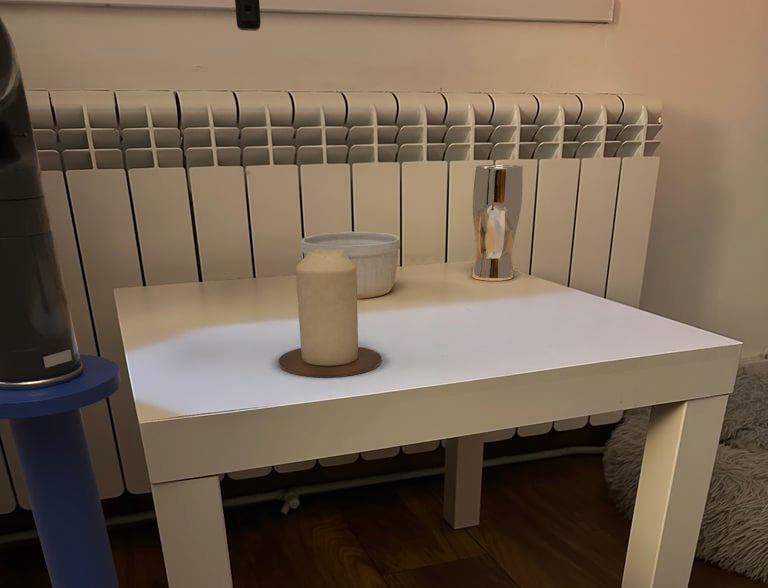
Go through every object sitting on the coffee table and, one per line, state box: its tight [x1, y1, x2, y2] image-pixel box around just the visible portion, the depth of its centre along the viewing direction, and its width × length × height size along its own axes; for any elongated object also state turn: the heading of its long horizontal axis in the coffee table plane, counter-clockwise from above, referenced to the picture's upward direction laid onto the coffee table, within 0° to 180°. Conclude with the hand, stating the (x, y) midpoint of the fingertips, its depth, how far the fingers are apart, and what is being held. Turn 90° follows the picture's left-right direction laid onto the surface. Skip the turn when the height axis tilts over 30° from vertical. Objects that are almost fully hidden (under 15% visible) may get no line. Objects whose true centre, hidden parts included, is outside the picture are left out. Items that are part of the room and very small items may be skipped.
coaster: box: [277, 346, 383, 378], centre depth 71 cm, size 10×10×1 cm
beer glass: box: [471, 164, 524, 282], centre depth 105 cm, size 7×7×15 cm
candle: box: [295, 248, 359, 366], centre depth 68 cm, size 6×6×10 cm
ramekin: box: [300, 231, 401, 300], centre depth 98 cm, size 13×13×7 cm
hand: (248, 29), depth 68 cm, fingers closed
